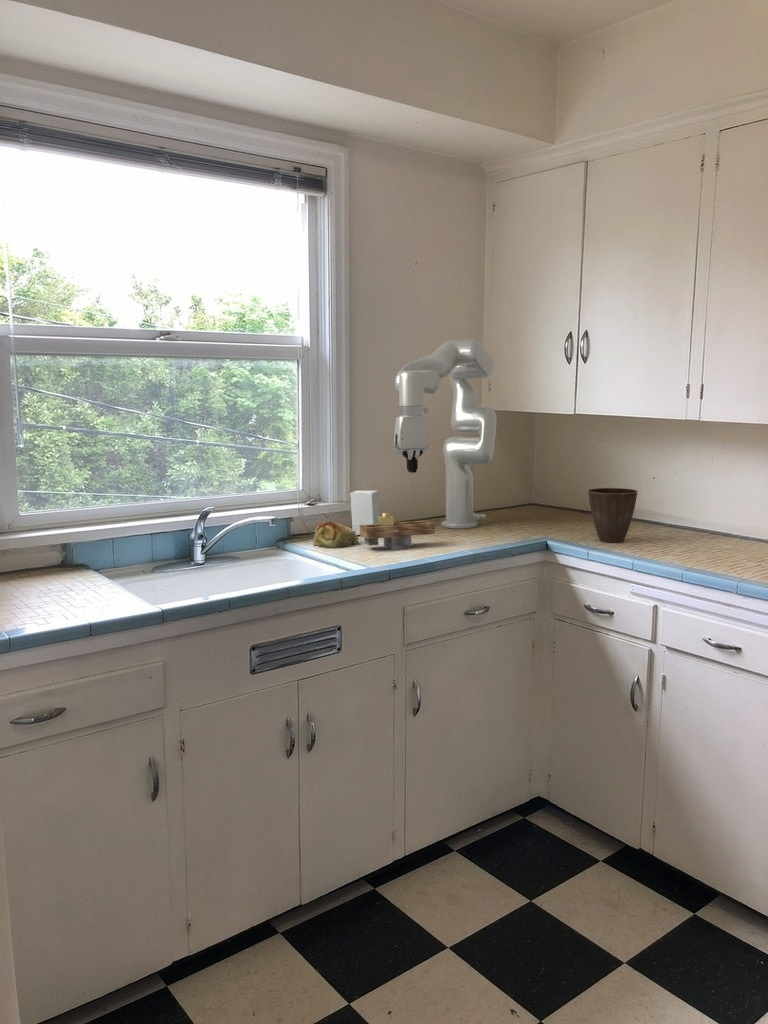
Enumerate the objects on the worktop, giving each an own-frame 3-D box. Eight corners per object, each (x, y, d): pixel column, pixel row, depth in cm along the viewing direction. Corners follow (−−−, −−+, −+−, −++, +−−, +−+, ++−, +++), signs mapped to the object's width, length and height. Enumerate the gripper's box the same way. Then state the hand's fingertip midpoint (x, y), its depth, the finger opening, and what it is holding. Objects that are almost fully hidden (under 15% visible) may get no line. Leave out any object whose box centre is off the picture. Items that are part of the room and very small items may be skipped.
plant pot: (577, 541, 257) (579, 490, 255) (602, 534, 267) (603, 486, 265) (620, 547, 247) (622, 495, 244) (644, 540, 257) (646, 490, 255)
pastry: (309, 548, 250) (308, 523, 249) (317, 541, 262) (316, 516, 261) (354, 549, 249) (354, 523, 247) (360, 541, 261) (359, 517, 260)
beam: (425, 542, 258) (425, 519, 257) (435, 546, 250) (435, 523, 249) (359, 547, 250) (359, 524, 249) (368, 552, 243) (367, 528, 242)
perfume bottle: (390, 528, 250) (390, 512, 249) (393, 529, 248) (393, 513, 247) (378, 529, 249) (378, 513, 248) (381, 530, 246) (381, 514, 245)
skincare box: (381, 534, 273) (380, 490, 271) (373, 537, 267) (373, 492, 265) (358, 532, 276) (357, 489, 274) (350, 535, 271) (349, 491, 268)
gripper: (429, 411, 252) (429, 469, 255) (384, 412, 247) (385, 472, 250) (439, 411, 245) (439, 472, 248) (393, 413, 240) (393, 474, 243)
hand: (412, 472), depth 249 cm, fingers closed
